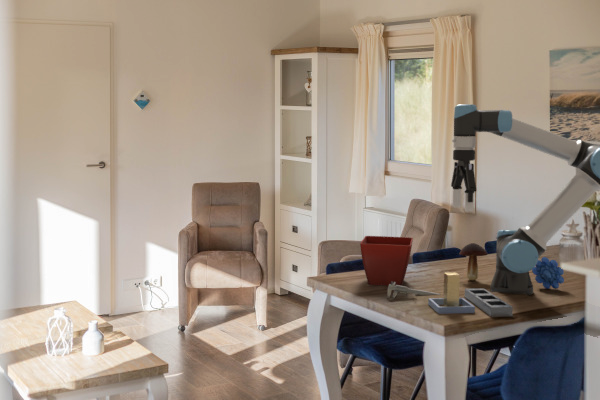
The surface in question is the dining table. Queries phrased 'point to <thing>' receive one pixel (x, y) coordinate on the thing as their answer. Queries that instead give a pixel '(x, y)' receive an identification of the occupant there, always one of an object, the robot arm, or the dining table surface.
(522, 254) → the robot arm
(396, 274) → the plant pot
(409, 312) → the dining table surface
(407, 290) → the caliper
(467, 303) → the tray
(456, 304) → the brass peg
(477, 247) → the decorative mushroom
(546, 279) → the grapes
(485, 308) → the socket rail
